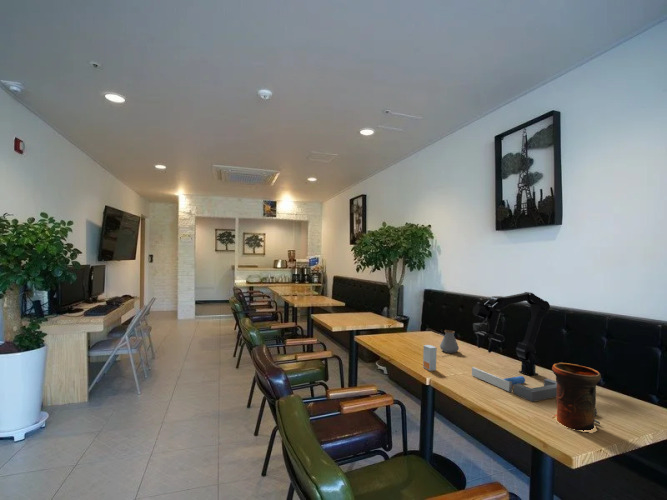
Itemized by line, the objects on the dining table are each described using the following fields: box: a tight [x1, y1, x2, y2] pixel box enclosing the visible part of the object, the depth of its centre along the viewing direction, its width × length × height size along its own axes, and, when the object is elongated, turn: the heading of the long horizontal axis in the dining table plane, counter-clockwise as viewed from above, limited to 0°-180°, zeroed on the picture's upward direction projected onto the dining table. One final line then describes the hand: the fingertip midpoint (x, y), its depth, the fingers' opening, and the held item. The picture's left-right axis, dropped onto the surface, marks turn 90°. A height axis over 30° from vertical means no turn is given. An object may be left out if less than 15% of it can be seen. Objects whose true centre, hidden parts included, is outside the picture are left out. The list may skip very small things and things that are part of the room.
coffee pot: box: [426, 327, 460, 354], centre depth 216 cm, size 21×12×15 cm, turn 98°
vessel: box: [550, 362, 602, 431], centre depth 123 cm, size 14×14×20 cm
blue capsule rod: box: [503, 375, 526, 386], centre depth 162 cm, size 12×3×3 cm, turn 112°
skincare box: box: [422, 344, 437, 372], centre depth 180 cm, size 6×4×12 cm
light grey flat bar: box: [471, 366, 513, 393], centre depth 161 cm, size 23×1×4 cm, turn 22°
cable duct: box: [513, 378, 557, 403], centre depth 150 cm, size 22×9×4 cm, turn 112°
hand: (483, 350), depth 174 cm, fingers open, 9 cm apart
